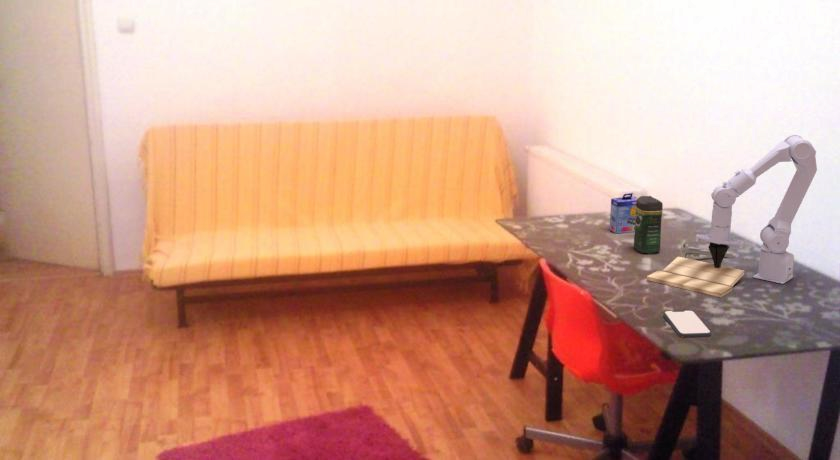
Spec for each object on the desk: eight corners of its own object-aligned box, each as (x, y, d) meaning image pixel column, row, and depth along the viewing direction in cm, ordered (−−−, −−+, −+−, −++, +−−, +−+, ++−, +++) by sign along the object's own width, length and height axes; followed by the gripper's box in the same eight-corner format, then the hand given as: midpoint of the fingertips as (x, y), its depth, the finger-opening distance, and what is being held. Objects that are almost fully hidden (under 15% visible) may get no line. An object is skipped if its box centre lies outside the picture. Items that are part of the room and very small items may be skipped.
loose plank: (744, 273, 272) (744, 270, 271) (730, 288, 266) (730, 285, 265) (678, 259, 286) (677, 256, 286) (663, 273, 280) (662, 270, 280)
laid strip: (732, 290, 265) (732, 286, 264) (720, 297, 259) (721, 293, 259) (659, 273, 280) (659, 269, 280) (646, 280, 275) (646, 276, 274)
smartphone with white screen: (713, 338, 232) (693, 315, 247) (713, 333, 232) (693, 309, 247) (679, 340, 232) (661, 316, 247) (679, 334, 231) (661, 310, 247)
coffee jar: (663, 253, 300) (666, 200, 294) (640, 255, 299) (643, 201, 294) (652, 245, 309) (655, 193, 304) (630, 246, 308) (633, 194, 303)
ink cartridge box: (616, 234, 323) (617, 195, 319) (608, 230, 328) (610, 192, 324) (640, 231, 326) (642, 193, 322) (632, 227, 331) (634, 189, 327)
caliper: (680, 262, 291) (681, 244, 289) (678, 261, 292) (679, 243, 290) (736, 257, 295) (737, 239, 294) (734, 256, 296) (735, 238, 295)
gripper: (749, 225, 271) (745, 267, 275) (702, 218, 279) (699, 259, 283) (741, 230, 266) (737, 273, 269) (694, 223, 274) (691, 265, 278)
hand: (717, 267), depth 276 cm, fingers closed, pressing on loose plank
